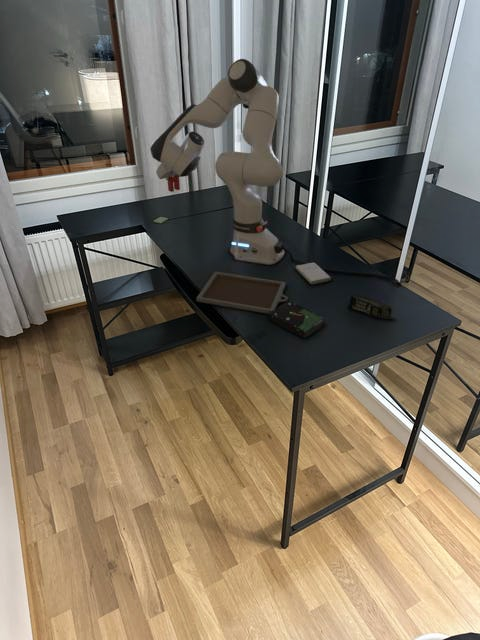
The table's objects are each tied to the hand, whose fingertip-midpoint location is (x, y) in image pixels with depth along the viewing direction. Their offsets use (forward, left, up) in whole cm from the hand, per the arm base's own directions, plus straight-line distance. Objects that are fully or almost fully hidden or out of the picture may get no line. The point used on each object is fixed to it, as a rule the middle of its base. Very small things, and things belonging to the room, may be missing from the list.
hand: (172, 177), depth 199 cm
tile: (+3, +8, -18) cm, 20 cm away
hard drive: (-79, +23, -19) cm, 85 cm away
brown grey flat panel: (-63, +47, -19) cm, 81 cm away
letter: (-1, 0, -6) cm, 6 cm away
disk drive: (-85, +54, -19) cm, 103 cm away
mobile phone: (-105, +38, -19) cm, 114 cm away
